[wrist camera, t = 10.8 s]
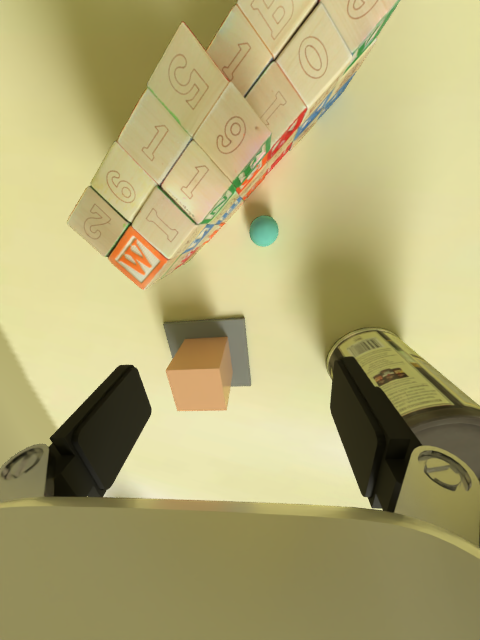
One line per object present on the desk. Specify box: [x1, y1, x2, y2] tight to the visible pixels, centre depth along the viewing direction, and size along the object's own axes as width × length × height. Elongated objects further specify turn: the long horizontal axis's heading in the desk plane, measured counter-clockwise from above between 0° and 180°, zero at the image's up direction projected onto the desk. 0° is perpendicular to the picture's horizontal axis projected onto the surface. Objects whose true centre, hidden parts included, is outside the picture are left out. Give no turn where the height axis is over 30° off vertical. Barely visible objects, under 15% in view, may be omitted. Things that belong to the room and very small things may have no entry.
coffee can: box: [327, 328, 480, 484], centre depth 24 cm, size 10×10×14 cm
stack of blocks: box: [67, 0, 400, 290], centre depth 17 cm, size 21×6×12 cm, turn 134°
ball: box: [250, 216, 278, 246], centre depth 23 cm, size 3×3×3 cm
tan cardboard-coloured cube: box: [166, 337, 233, 411], centre depth 28 cm, size 6×6×7 cm
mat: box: [163, 318, 251, 386], centre depth 32 cm, size 11×11×1 cm
